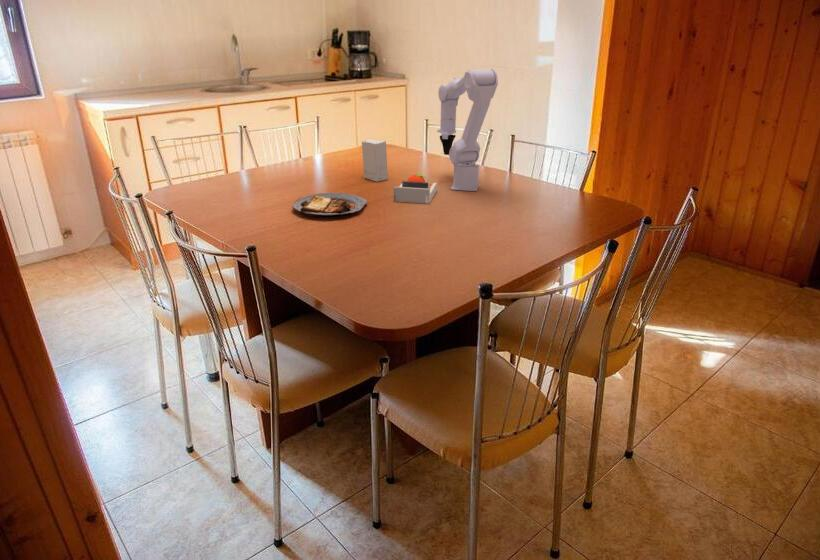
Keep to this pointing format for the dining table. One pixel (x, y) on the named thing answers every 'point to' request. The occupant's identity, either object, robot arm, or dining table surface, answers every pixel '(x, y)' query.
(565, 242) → the dining table surface
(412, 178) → the clementine
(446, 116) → the robot arm
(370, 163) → the skincare box
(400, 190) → the grey open tray
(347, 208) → the food plate
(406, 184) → the block
